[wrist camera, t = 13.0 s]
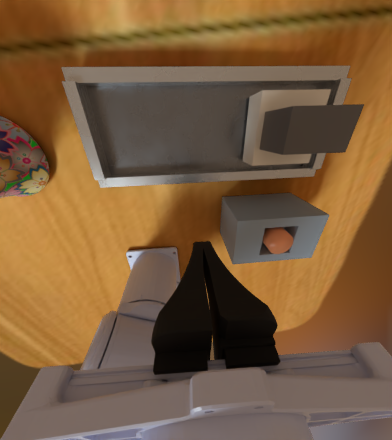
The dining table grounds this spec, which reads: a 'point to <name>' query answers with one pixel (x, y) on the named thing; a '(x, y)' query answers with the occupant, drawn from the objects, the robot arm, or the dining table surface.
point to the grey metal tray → (183, 120)
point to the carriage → (296, 126)
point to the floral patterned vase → (20, 162)
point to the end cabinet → (269, 226)
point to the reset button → (277, 240)
